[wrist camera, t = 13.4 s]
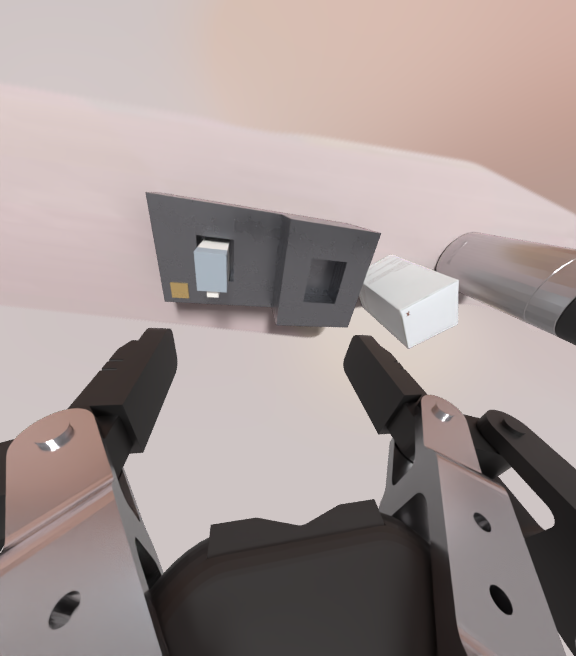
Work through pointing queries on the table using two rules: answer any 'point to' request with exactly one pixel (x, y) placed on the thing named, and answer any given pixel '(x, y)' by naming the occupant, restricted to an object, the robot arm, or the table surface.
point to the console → (264, 258)
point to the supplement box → (410, 299)
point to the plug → (212, 266)
